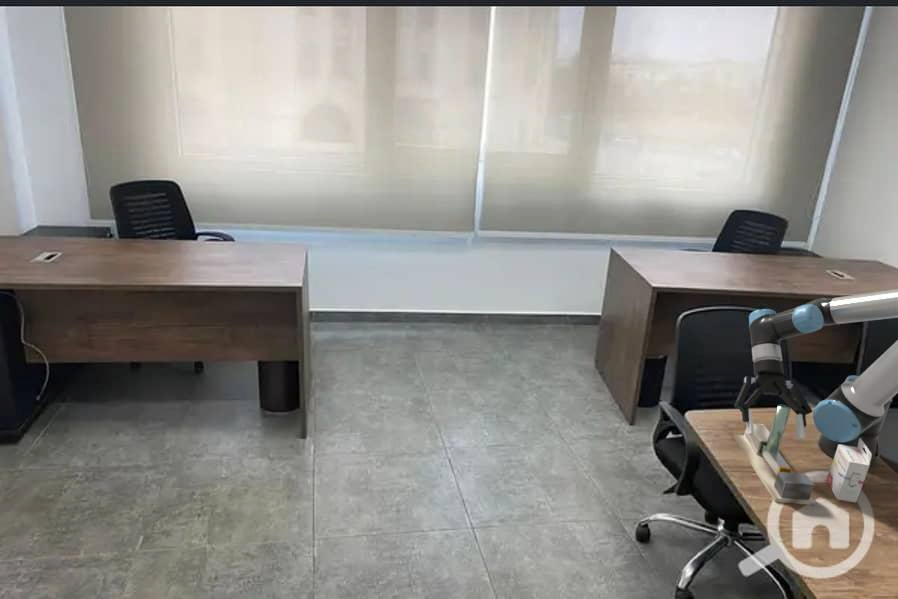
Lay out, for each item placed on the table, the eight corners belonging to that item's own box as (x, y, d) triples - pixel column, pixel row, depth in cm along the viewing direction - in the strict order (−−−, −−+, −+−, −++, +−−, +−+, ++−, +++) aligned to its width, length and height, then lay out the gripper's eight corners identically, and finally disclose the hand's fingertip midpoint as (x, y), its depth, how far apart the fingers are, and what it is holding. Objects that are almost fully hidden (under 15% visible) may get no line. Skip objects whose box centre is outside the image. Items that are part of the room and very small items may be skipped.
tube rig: (767, 440, 189) (771, 424, 187) (814, 505, 162) (820, 486, 160) (733, 437, 190) (737, 420, 188) (774, 501, 162) (780, 483, 160)
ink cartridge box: (824, 480, 173) (840, 433, 167) (844, 483, 172) (861, 436, 167) (836, 500, 165) (853, 451, 159) (857, 503, 164) (874, 455, 159)
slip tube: (759, 437, 187) (773, 389, 181) (789, 478, 169) (805, 425, 163) (748, 436, 187) (762, 387, 181) (777, 477, 169) (793, 424, 163)
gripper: (805, 370, 185) (815, 443, 177) (718, 362, 186) (724, 434, 178) (819, 362, 178) (830, 437, 170) (728, 354, 179) (735, 428, 171)
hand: (776, 436), depth 174 cm, fingers open, 13 cm apart
